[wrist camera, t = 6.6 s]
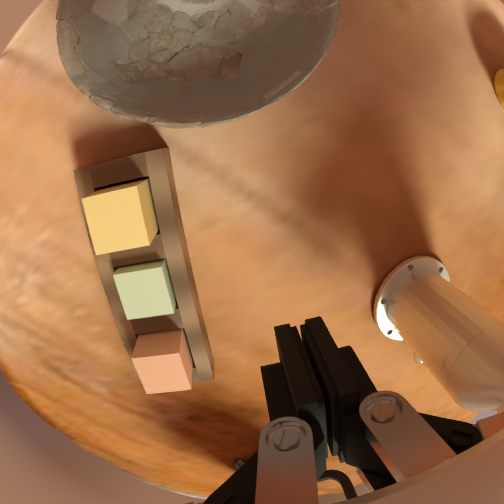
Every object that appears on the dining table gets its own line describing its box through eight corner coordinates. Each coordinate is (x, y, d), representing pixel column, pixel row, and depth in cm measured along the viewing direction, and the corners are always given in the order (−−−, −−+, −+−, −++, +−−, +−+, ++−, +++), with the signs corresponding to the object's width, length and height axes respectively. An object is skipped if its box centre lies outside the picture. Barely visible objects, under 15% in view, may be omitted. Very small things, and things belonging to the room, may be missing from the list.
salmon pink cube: (192, 360, 36) (191, 389, 31) (152, 365, 36) (146, 393, 31) (182, 325, 34) (179, 352, 30) (139, 331, 34) (131, 358, 29)
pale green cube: (178, 291, 36) (174, 313, 31) (136, 297, 35) (127, 319, 31) (168, 249, 34) (161, 266, 29) (125, 256, 34) (112, 275, 29)
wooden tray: (213, 359, 40) (214, 379, 36) (147, 367, 39) (142, 387, 36) (168, 147, 31) (162, 148, 27) (88, 166, 30) (73, 170, 26)
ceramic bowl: (345, 18, 28) (386, -14, 18) (221, 174, 32) (224, 188, 23) (187, -74, 21) (183, -122, 12) (58, 71, 26) (11, 55, 17)
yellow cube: (158, 229, 30) (149, 245, 26) (111, 238, 30) (95, 255, 25) (148, 178, 29) (136, 185, 24) (100, 189, 28) (81, 198, 24)
